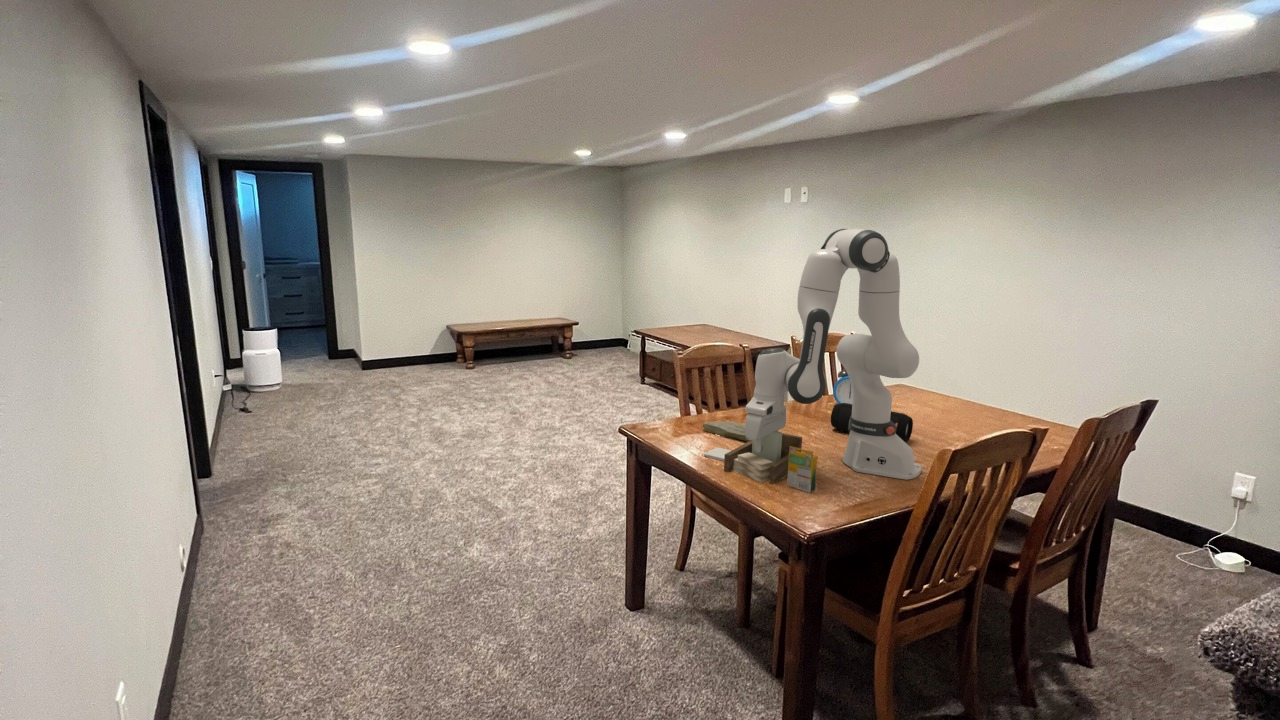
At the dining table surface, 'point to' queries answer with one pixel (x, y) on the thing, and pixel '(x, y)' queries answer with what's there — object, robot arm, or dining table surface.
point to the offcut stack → (753, 466)
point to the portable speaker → (904, 422)
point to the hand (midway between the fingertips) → (765, 448)
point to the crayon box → (802, 469)
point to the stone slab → (727, 429)
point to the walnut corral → (776, 469)
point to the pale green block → (770, 447)
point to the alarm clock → (843, 388)
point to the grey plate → (717, 453)
